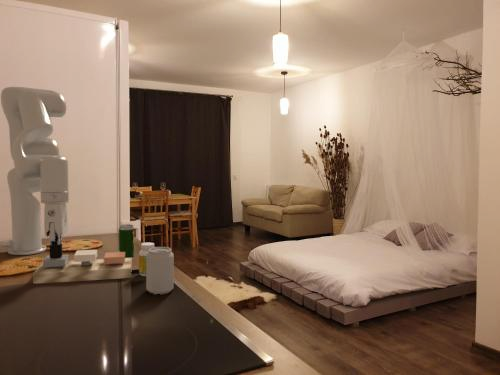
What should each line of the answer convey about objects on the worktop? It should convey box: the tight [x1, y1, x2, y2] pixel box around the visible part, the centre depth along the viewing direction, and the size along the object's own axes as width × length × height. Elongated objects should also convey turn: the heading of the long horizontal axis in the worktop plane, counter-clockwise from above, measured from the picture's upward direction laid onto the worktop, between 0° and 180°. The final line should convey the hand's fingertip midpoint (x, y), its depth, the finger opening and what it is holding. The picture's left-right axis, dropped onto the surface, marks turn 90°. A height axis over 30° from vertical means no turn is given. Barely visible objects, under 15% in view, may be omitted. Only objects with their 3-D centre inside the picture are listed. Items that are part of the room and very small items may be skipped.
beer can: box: [117, 223, 135, 260], centre depth 141 cm, size 5×5×12 cm
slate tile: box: [42, 253, 70, 268], centre depth 121 cm, size 6×6×4 cm
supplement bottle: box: [138, 242, 155, 277], centre depth 125 cm, size 5×5×10 cm
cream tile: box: [73, 249, 98, 265], centre depth 123 cm, size 6×6×4 cm
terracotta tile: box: [103, 251, 125, 265], centre depth 125 cm, size 6×6×4 cm
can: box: [145, 246, 175, 295], centre depth 111 cm, size 8×8×12 cm
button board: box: [32, 258, 133, 285], centre depth 123 cm, size 27×12×3 cm, turn 106°
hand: (56, 257), depth 121 cm, fingers closed
